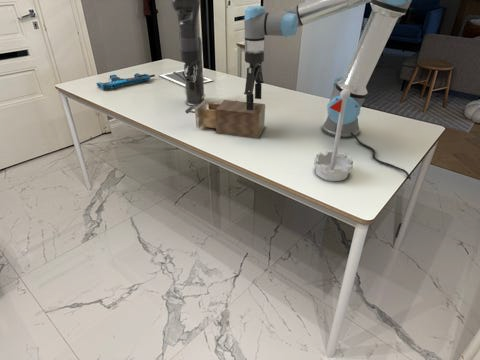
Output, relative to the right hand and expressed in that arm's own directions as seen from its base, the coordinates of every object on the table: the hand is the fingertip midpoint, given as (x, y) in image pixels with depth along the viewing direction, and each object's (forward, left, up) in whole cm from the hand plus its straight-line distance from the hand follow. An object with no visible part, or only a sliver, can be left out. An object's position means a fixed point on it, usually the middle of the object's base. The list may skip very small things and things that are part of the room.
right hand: (254, 104), depth 142 cm
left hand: (+18, +21, +3) cm, 28 cm away
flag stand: (-43, -9, -13) cm, 45 cm away
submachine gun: (+98, +39, -13) cm, 107 cm away
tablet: (+89, +3, -13) cm, 90 cm away
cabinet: (+4, +4, -13) cm, 14 cm away
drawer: (+13, +14, -12) cm, 22 cm away
